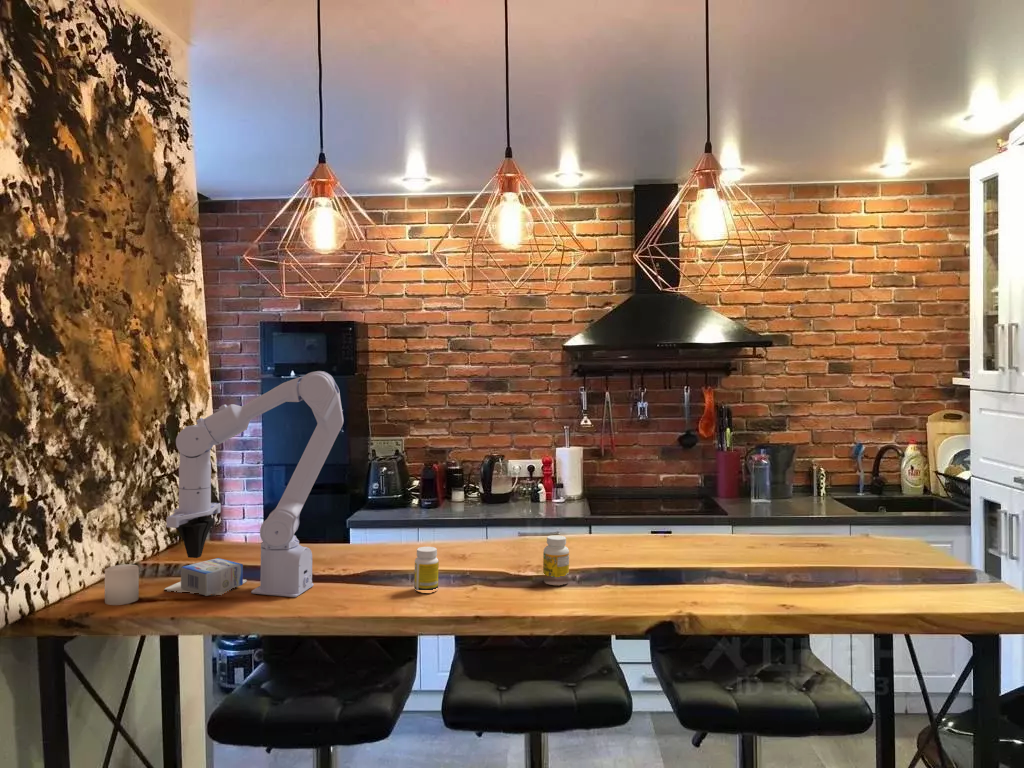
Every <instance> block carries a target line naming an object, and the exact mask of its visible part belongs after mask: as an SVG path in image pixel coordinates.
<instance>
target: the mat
mask: <svg viewBox="0 0 1024 768" xmlns="http://www.w3.org/2000/svg"><path fill="white" fill-rule="evenodd" d="M247 581H248V580H247V579H244V578H243V584H246V582H247ZM231 589H232V588H231ZM231 589H228V590H225V591H221V592H218V593H215V594H212V595H211V596H216V595H221V596H222V594H223V595H224V593H225V592H226V593H228V592H230V591H232V590H233V589H232V590H231ZM164 590H167V591H166V592H171V591H174V592H173V593H182V592H190V593H189V594H194V593H196V592H192V591H189V590H186V589H182V588H181V580H180V581H179V582H176V583H173V584H171V585H169V586H167V587H165V588H164V589H163V591H164ZM229 590H230V591H229ZM176 591H177V592H176ZM227 591H228V592H227ZM226 593H225V594H226Z"/></svg>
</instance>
